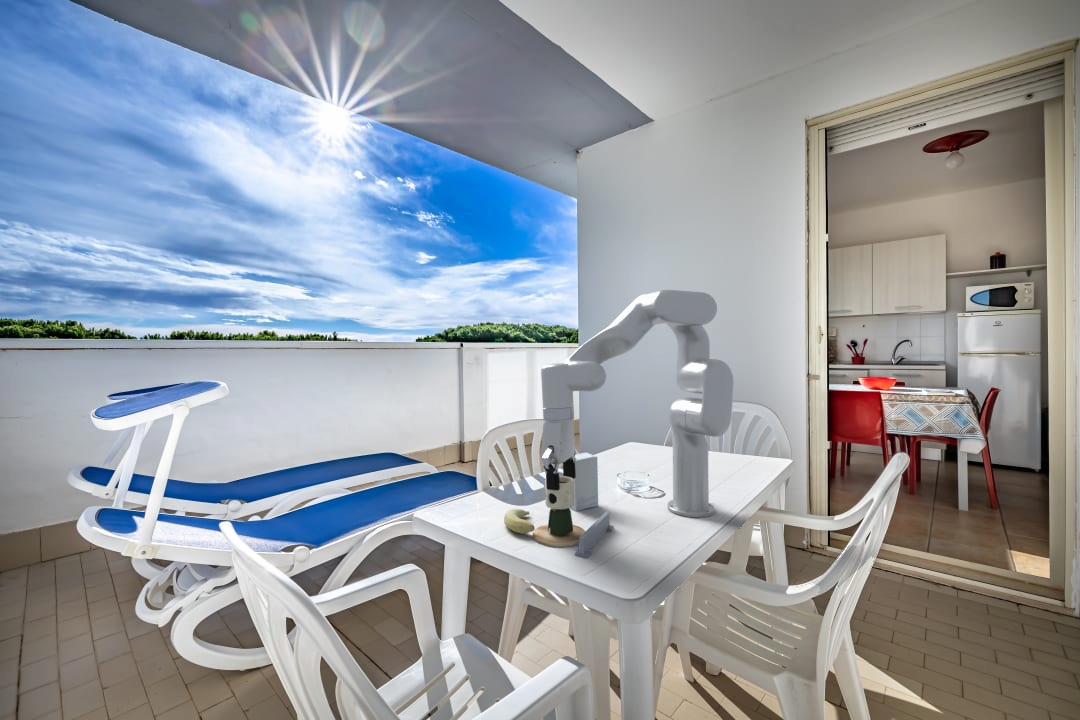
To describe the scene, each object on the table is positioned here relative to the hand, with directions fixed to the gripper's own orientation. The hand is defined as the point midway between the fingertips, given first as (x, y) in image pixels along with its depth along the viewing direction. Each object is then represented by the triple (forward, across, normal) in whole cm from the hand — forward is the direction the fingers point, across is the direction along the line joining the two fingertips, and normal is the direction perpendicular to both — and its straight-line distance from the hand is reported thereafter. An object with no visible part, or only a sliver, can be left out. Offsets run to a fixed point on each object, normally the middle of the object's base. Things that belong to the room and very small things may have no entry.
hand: (561, 483), depth 110 cm
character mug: (+12, +1, -1) cm, 12 cm away
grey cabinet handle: (+13, 0, +8) cm, 15 cm away
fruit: (+12, 0, -12) cm, 17 cm away
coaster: (+13, +1, -1) cm, 13 cm away
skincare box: (+14, -21, -4) cm, 25 cm away
